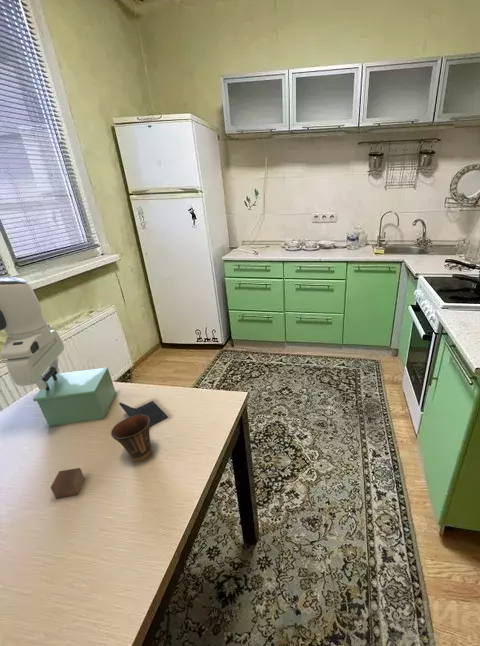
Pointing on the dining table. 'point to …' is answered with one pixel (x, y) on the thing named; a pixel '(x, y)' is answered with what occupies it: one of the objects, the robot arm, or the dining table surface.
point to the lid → (70, 383)
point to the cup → (134, 436)
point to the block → (67, 483)
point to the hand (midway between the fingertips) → (50, 380)
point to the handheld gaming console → (146, 412)
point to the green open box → (79, 405)
